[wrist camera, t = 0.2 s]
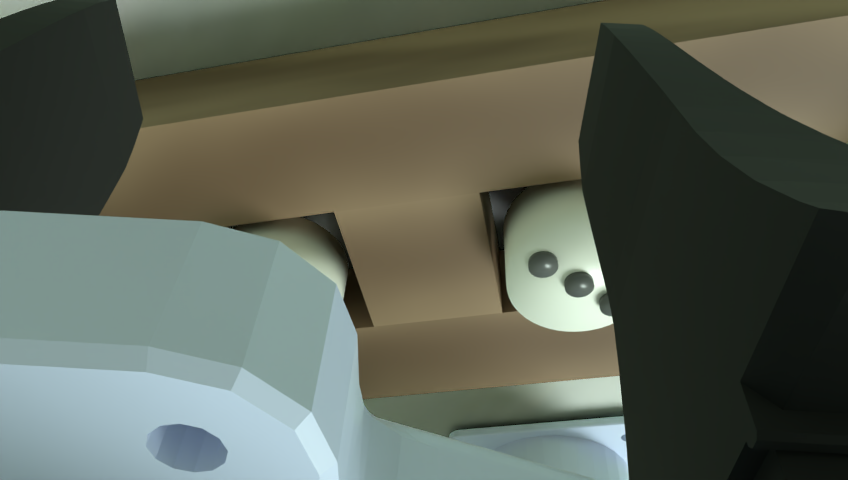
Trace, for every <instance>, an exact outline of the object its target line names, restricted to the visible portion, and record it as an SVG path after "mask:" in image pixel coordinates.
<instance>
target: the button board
mask: <svg viewBox="0 0 848 480" xmlns="http://www.w3.org/2000/svg"><path fill="white" fill-rule="evenodd" d="M601 23H620V24H640V25H645V26H647V27H649V28H651V29H653V30H654V31H656V32H658V33H659V34H661V35H662V36H664V37H665V38H667V39H668V40H669V41H671V42H672V43H674V44H675V45H677V46H678V47H679V48H681V49H682V50H684V51H685V52H686V53H688V54H689V55H691V56H692V57H693V58H695V59H696V60H698V61H699V62H700V63H702V64H703V65H705V66H706V67H708V68H709V69H710V70H712V71H713V72H715V73H716V74H718V75H719V76H721V77H722V78H724V79H725V80H727V81H728V82H730V83H731V84H733V85H734V86H736V87H738V88H739V89H741V90H742V91H744V92H746V93H747V94H749V95H751V96H752V97H754V98H756V99H757V100H759V101H761V102H762V103H764V104H766V105H767V106H769V107H771V108H773V109H775V110H776V111H778V112H780V113H782V114H784V115H786V116H788V117H790V118H792V119H794V120H796V121H798V122H800V123H802V124H804V125H806V126H809V127H811V128H813V129H815V130H817V131H819V132H821V133H823V134H825V135H827V136H830V137H832V138H834V139H837V140H839V141H842V142H844V143H848V0H605V1H599V2H593V3H587V4H582V5H576V6H570V7H564V8H558V9H552V10H546V11H541V12H535V13H529V14H523V15H517V16H511V17H505V18H499V19H494V20H488V21H482V22H476V23H470V24H464V25H458V26H453V27H447V28H441V29H435V30H429V31H423V32H417V33H412V34H406V35H400V36H394V37H388V38H382V39H376V40H370V41H365V42H359V43H353V44H347V45H341V46H335V47H329V48H324V49H318V50H312V51H306V52H300V53H294V54H288V55H283V56H277V57H271V58H265V59H259V60H253V61H247V62H241V63H236V64H230V65H224V66H218V67H212V68H206V69H200V70H195V71H189V72H183V73H177V74H171V75H165V76H159V77H153V78H148V79H142V80H136V81H135V85H136V89H137V94H138V98H139V102H140V106H141V111H142V115H143V121H142V124H141V127H140V130H139V133H138V136H137V139H136V142H135V145H134V148H133V151H132V153H131V156H130V158H129V161H128V163H127V166H126V168H125V170H124V172H123V174H122V176H121V178H120V179H119V181H118V183H117V185H116V187H115V188H114V190H113V192H112V194H111V195H110V197H109V199H108V201H107V202H106V204H105V206H104V208H103V209H102V211H101V213H100V214H99V216H112V217H131V218H149V219H168V220H186V221H203V222H207V223H211V224H215V225H218V226H222V227H226V228H230V226H234V225H242V224H249V223H257V222H264V221H272V220H279V219H287V218H294V217H302V216H309V215H317V214H324V213H331V212H334V214H335V217H336V220H337V222H338V225H339V228H340V231H341V234H342V237H343V240H344V242H345V245H346V248H347V251H348V254H349V257H350V260H351V262H352V265H353V269H348V276H347V281H346V287H345V293H344V298H343V301H344V303H345V306H346V308H347V310H348V313H349V315H350V318H351V320H352V322H353V325H354V327H355V330H356V332H357V339H358V366H359V385H360V390H361V394H362V398H363V399H371V398H382V397H393V396H404V395H414V394H425V393H436V392H447V391H458V390H469V389H480V388H490V387H501V386H512V385H523V384H534V383H545V382H556V381H566V380H577V379H588V378H599V377H610V376H620V375H619V366H618V358H617V349H616V340H615V332H614V324H611V325H608V326H605V327H602V328H599V329H594V330H589V331H580V332H566V331H557V330H553V329H548V328H545V327H542V326H540V325H537V324H535V323H533V322H531V321H530V320H528V319H526V318H525V317H524V316H523V315H521V314H520V313H519V312H518V311H517V310H516V309H515V307H514V306H513V304H512V303H511V301H510V299H509V296H508V293H507V287H506V270H505V251H504V250H501V251H500V250H499V245H498V239H497V234H496V228H495V223H494V217H493V212H492V206H491V201H490V196H489V191H496V190H503V189H511V188H518V187H525V186H533V185H540V184H548V183H555V182H563V181H570V180H578V179H581V170H580V157H579V143H578V140H579V135H580V130H581V125H582V119H583V114H584V109H585V103H586V98H587V93H588V87H589V82H590V77H591V72H592V66H593V61H594V56H595V50H596V45H597V40H598V35H599V29H600V24H601Z"/></svg>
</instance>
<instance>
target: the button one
mask: <svg viewBox="0 0 848 480" xmlns="http://www.w3.org/2000/svg"><path fill="white" fill-rule="evenodd" d="M234 230H238V231H242V232H246V233H250V234H254V235H258V236H262V237H266V238H270V239H274V240H278V241H280V242H282V243H283V244H284V245H286V246H287V247H288V248H289V249H291V250H292V251H293V252H295V253H296V254H297V255H299V256H300V257H301V258H303V259H304V260H305V261H307V262H308V263H309V264H311V265H312V266H313V267H315V268H316V269H317V270H319V271H320V272H321V273H323V274H324V275H325V276H327V277H328V278H329V279H331V280H332V281H333V282H335V283H336V284H337V286H338V289H339V291H340V294H341V296H342V298H344V293H345V287H346V281H347V276H348V260H347V256H346V254H345V251H344V249H343V247H342V246H341V244H340V243H339V242H338V240H337V239H336V238H335V237H334V236H333V235H332V234H331V233H330V232H328V231H327V230H326V229H324V228H323V227H321V226H320V225H318V224H316V223H314V222H312V221H310V220H307V219H304V218H301V217H294V218H287V219H279V220H272V221H264V222H257V223H249V224H242V225H237V226H236V227H235V228H234Z"/></svg>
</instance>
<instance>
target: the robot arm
mask: <svg viewBox="0 0 848 480" xmlns="http://www.w3.org/2000/svg"><path fill="white" fill-rule="evenodd" d="M142 121H143V115H142V111H141V106H140V102H139V98H138V94H137V89H136V85H135V81H134V77H133V72H132V68H131V64H130V60H129V55H128V51H127V47H126V43H125V38H124V34H123V30H122V26H121V21H120V17H119V13H118V9H117V4H116V0H55V1H51V2H48V3H44V4H41V5H38V6H35V7H32V8H29V9H26V10H23V11H20V12H17V13H15V14H12V15H9V16H6V17H4V18H1V19H0V480H848V144H846V143H844V142H842V141H839V140H837V139H834V138H832V137H830V136H827V135H825V134H823V133H821V132H819V131H817V130H815V129H813V128H811V127H809V126H806V125H804V124H802V123H800V122H798V121H796V120H794V119H792V118H790V117H788V116H786V115H784V114H782V113H780V112H778V111H776V110H775V109H773V108H771V107H769V106H767V105H766V104H764V103H762V102H761V101H759V100H757V99H756V98H754V97H752V96H751V95H749V94H747V93H746V92H744V91H742V90H741V89H739V88H738V87H736V86H734V85H733V84H731V83H730V82H728V81H727V80H725V79H724V78H722V77H721V76H719V75H718V74H716V73H715V72H713V71H712V70H710V69H709V68H708V67H706V66H705V65H703V64H702V63H700V62H699V61H698V60H696V59H695V58H693V57H692V56H691V55H689V54H688V53H686V52H685V51H684V50H682V49H681V48H679V47H678V46H677V45H675V44H674V43H672V42H671V41H669V40H668V39H667V38H665V37H664V36H662V35H661V34H659V33H658V32H656V31H654V30H653V29H651V28H649V27H647V26H645V25H640V24H620V23H601V24H600V29H599V35H598V40H597V45H596V50H595V56H594V61H593V66H592V72H591V77H590V82H589V87H588V93H587V98H586V103H585V109H584V114H583V119H582V125H581V130H580V135H579V140H578V143H579V157H580V170H581V181H582V191H583V196H584V201H585V205H586V209H587V213H588V218H589V222H590V226H591V230H592V234H593V238H594V242H595V246H596V250H597V254H598V258H599V263H600V267H601V271H602V275H603V279H604V283H605V287H606V291H607V295H608V299H609V303H610V309H611V314H612V319H613V324H614V332H615V340H616V349H617V358H618V366H619V375H620V384H621V394H622V404H623V415H624V416H618V417H606V418H594V419H582V420H570V421H558V422H546V423H534V424H522V425H510V426H498V427H486V428H474V429H463V430H456V431H453V432H452V433H450V435H449V438H448V437H445V436H441V435H438V434H434V433H431V432H427V431H424V430H420V429H417V428H413V427H409V426H406V425H402V424H399V423H395V422H392V421H388V420H385V419H381V418H378V417H376V416H374V415H373V414H371V413H370V412H369V411H368V410H367V408H366V407H365V405H364V402H363V398H362V394H361V390H360V385H359V366H358V339H357V332H356V330H355V327H354V325H353V322H352V320H351V318H350V315H349V313H348V310H347V308H346V306H345V303H344V301H343V298H342V296H341V294H340V291H339V289H338V286H337V284H336V283H335V282H333V281H332V280H331V279H329V278H328V277H327V276H325V275H324V274H323V273H321V272H320V271H319V270H317V269H316V268H315V267H313V266H312V265H311V264H309V263H308V262H307V261H305V260H304V259H303V258H301V257H300V256H299V255H297V254H296V253H295V252H293V251H292V250H291V249H289V248H288V247H287V246H286V245H284V244H283V243H282V242H280V241H278V240H274V239H270V238H266V237H262V236H258V235H254V234H250V233H246V232H242V231H238V230H234V229H230V228H226V227H222V226H218V225H215V224H211V223H207V222H203V221H186V220H168V219H149V218H131V217H112V216H99V214H100V213H101V211H102V209H103V208H104V206H105V204H106V202H107V201H108V199H109V197H110V195H111V194H112V192H113V190H114V188H115V187H116V185H117V183H118V181H119V179H120V178H121V176H122V174H123V172H124V170H125V168H126V166H127V163H128V161H129V158H130V156H131V153H132V151H133V148H134V145H135V142H136V139H137V136H138V133H139V130H140V127H141V124H142Z"/></svg>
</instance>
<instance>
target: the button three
mask: <svg viewBox="0 0 848 480" xmlns="http://www.w3.org/2000/svg"><path fill="white" fill-rule="evenodd" d="M503 232H504V251H505V270H506V287H507V293H508V296H509V299H510V301H511V303H512V304H513V306H514V307H515V309H516V310H517V311H518V312H519V313H520V314H521V315H523V316H524V317H525V318H526V319H528V320H530V321H531V322H533V323H535V324H537V325H540V326H542V327H545V328H548V329H553V330H557V331H566V332H580V331H589V330H594V329H599V328H602V327H605V326H608V325H611V324H613V319H612V314H611V309H610V303H609V299H608V295H607V291H606V287H605V283H604V279H603V275H602V271H601V267H600V263H599V258H598V254H597V250H596V246H595V242H594V238H593V234H592V230H591V226H590V222H589V218H588V213H587V209H586V205H585V201H584V196H583V191H582V181H581V179H578V180H570V181H563V182H555V183H548V184H540V185H533V186H530V187H528V188H527V189H525V190H524V191H523V192H522V193H521V194H520V195H519V196H517V198H516V199H515V200H514V201H513V202H512V204H511V206H510V207H509V209H508V211H507V213H506V216H505V220H504V227H503Z"/></svg>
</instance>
